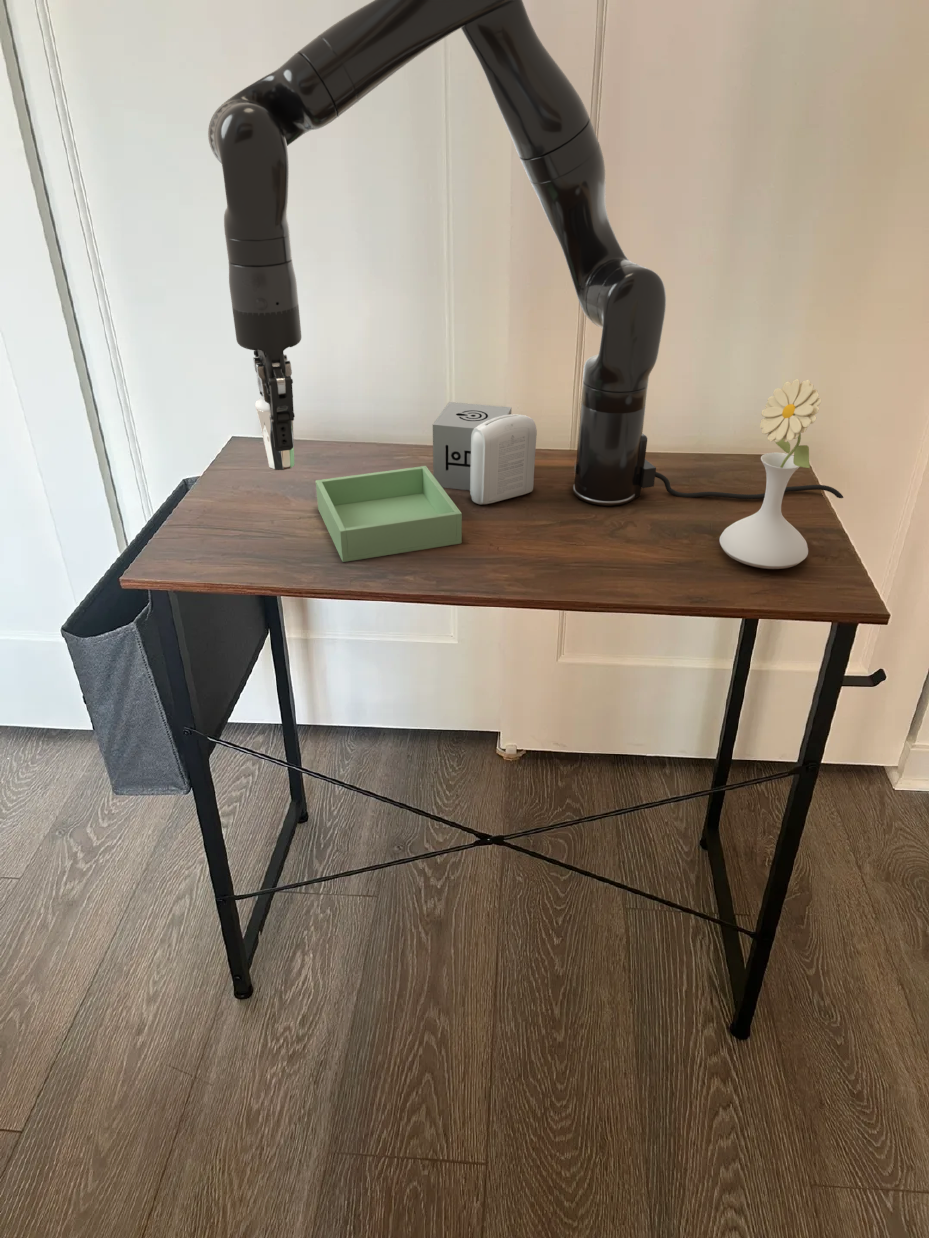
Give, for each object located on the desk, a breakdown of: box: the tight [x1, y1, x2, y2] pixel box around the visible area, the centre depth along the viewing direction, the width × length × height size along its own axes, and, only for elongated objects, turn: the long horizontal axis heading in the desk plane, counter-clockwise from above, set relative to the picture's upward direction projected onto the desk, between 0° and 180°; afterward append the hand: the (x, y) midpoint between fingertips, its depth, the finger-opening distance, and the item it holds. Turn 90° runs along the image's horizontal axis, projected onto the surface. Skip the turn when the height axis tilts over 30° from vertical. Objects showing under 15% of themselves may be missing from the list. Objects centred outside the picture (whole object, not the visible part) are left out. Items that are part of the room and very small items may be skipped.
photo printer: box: [469, 413, 538, 506], centre depth 132 cm, size 10×4×12 cm, turn 123°
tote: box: [315, 465, 463, 563], centre depth 126 cm, size 17×17×5 cm
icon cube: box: [432, 401, 512, 491], centre depth 138 cm, size 10×10×10 cm
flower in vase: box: [719, 378, 822, 570], centre depth 113 cm, size 13×11×25 cm
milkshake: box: [254, 396, 295, 471], centre depth 111 cm, size 5×5×10 cm
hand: (280, 441), depth 112 cm, fingers closed on milkshake, 4 cm apart
